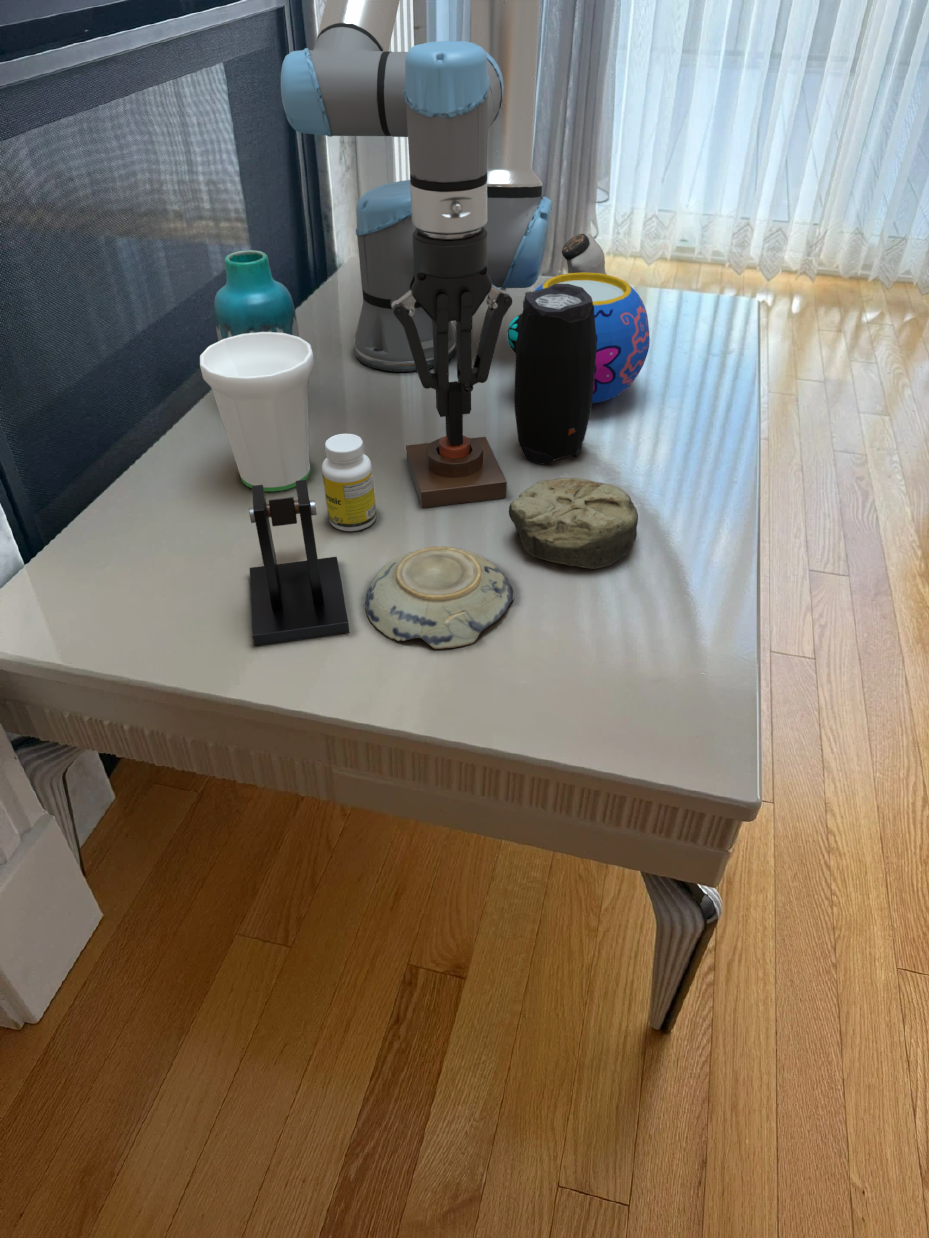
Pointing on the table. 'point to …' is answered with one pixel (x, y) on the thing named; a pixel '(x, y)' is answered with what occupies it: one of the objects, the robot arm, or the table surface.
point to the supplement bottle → (348, 483)
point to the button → (454, 448)
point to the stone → (575, 522)
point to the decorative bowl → (438, 597)
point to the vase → (252, 299)
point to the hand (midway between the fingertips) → (454, 438)
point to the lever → (283, 511)
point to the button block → (455, 474)
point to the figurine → (584, 255)
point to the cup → (263, 404)
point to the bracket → (294, 583)
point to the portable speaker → (554, 372)
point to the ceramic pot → (608, 330)
